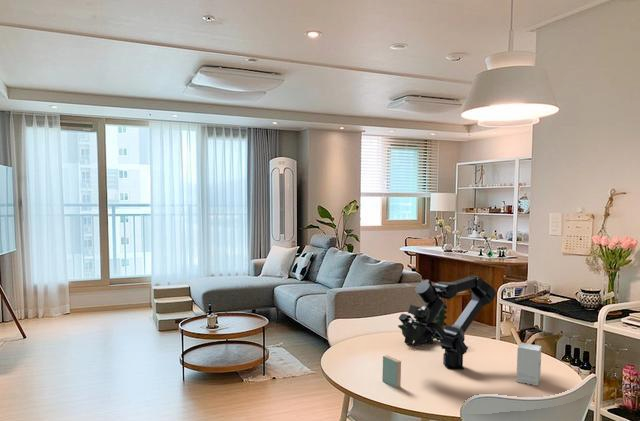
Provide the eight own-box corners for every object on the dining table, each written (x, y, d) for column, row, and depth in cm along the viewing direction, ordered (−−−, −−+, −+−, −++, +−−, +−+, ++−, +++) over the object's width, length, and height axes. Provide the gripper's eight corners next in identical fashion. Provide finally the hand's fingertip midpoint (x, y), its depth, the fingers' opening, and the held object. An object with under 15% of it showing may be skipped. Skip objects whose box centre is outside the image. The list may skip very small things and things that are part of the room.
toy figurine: (435, 341, 218) (390, 341, 209) (439, 301, 219) (394, 300, 209) (448, 347, 210) (401, 347, 200) (452, 305, 210) (406, 304, 200)
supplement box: (538, 386, 161) (539, 351, 161) (515, 381, 165) (516, 347, 165) (540, 380, 168) (542, 345, 167) (519, 375, 172) (520, 342, 171)
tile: (386, 380, 164) (387, 355, 164) (400, 386, 158) (401, 361, 158) (382, 381, 163) (382, 356, 163) (396, 388, 157) (396, 362, 157)
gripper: (402, 292, 176) (380, 324, 170) (440, 301, 161) (418, 337, 154) (416, 310, 181) (395, 342, 174) (454, 321, 165) (433, 356, 159)
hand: (409, 344), depth 165 cm, fingers open, 4 cm apart
